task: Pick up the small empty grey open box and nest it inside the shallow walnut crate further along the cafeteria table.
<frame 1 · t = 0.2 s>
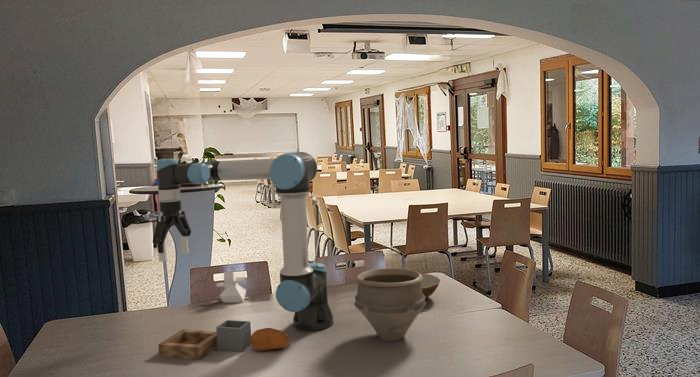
hand: (174, 257, 192), 28 cm above the table, fingers open, 13 cm apart
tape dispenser: (233, 300, 228), on the table
grey open box: (235, 347, 175), on the table
bowl: (410, 299, 219), on the table
potato: (270, 349, 172), on the table
walnut crate: (191, 349, 175), on the table
planter: (390, 336, 179), on the table
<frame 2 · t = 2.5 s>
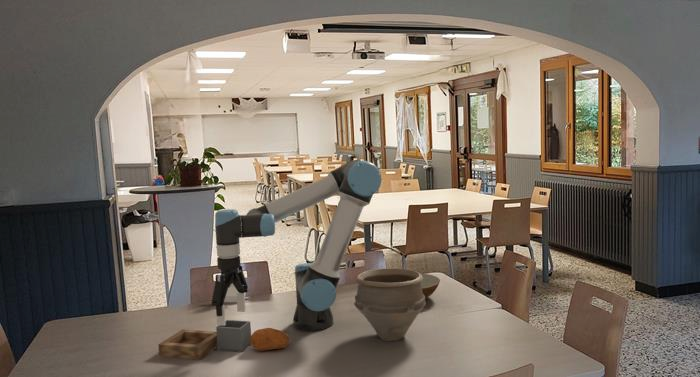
hand: (231, 318, 174), 10 cm above the table, fingers open, 13 cm apart
nothing on the table moved.
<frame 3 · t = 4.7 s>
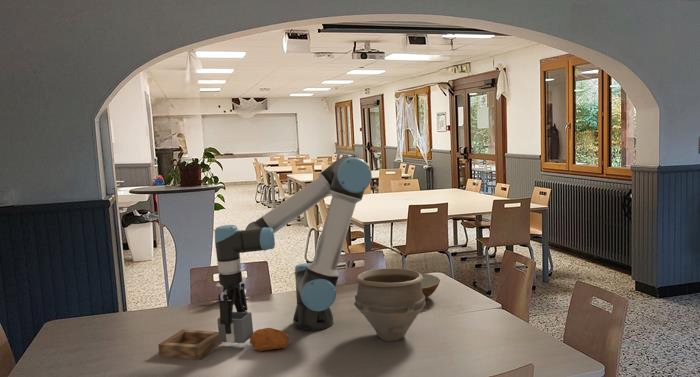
hand: (236, 337, 175), 3 cm above the table, fingers closed on grey open box, 7 cm apart
grey open box: (236, 338, 175), point 3 cm above the table, touching gripper
everything else where it was.
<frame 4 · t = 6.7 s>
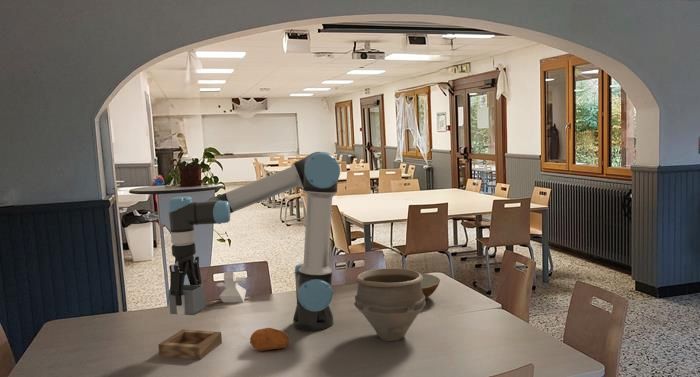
hand: (188, 310, 174), 14 cm above the table, fingers closed on grey open box, 7 cm apart
grey open box: (188, 311, 174), point 13 cm above the table, touching gripper
everything else where it was.
when the fingers open (5 cm above the table, at t = 8.5 s): grey open box drops 3 cm, resting on walnut crate.
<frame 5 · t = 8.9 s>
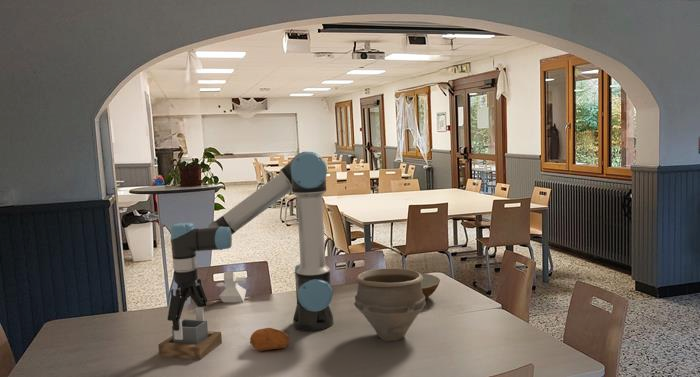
hand: (190, 331, 174), 6 cm above the table, fingers open, 12 cm apart
grey open box: (191, 346, 175), point 1 cm above the table, touching walnut crate
everything else where it was.
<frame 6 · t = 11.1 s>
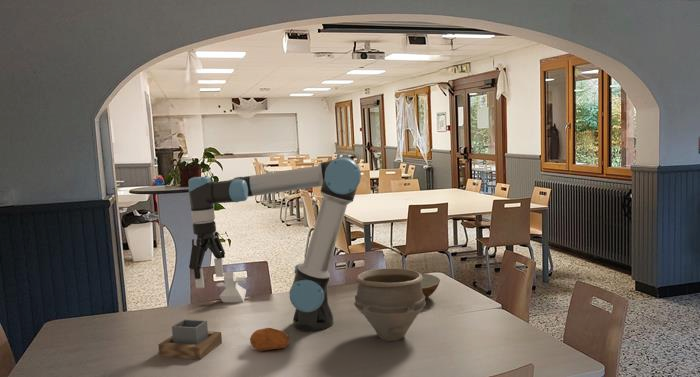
hand: (210, 282, 179), 21 cm above the table, fingers open, 13 cm apart
nothing on the table moved.
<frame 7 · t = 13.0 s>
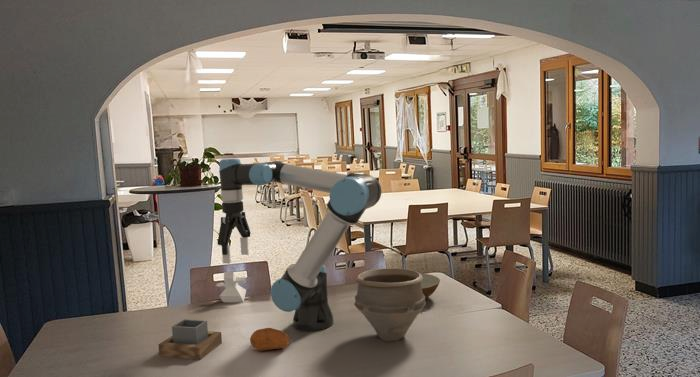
hand: (236, 258, 189), 27 cm above the table, fingers open, 13 cm apart
nothing on the table moved.
at the end: grey open box 0.1 cm off-centre on the walnut crate, point 1.0 cm above the walnut crate's base; grey open box tilted 0°; the gripper is holding nothing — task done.
